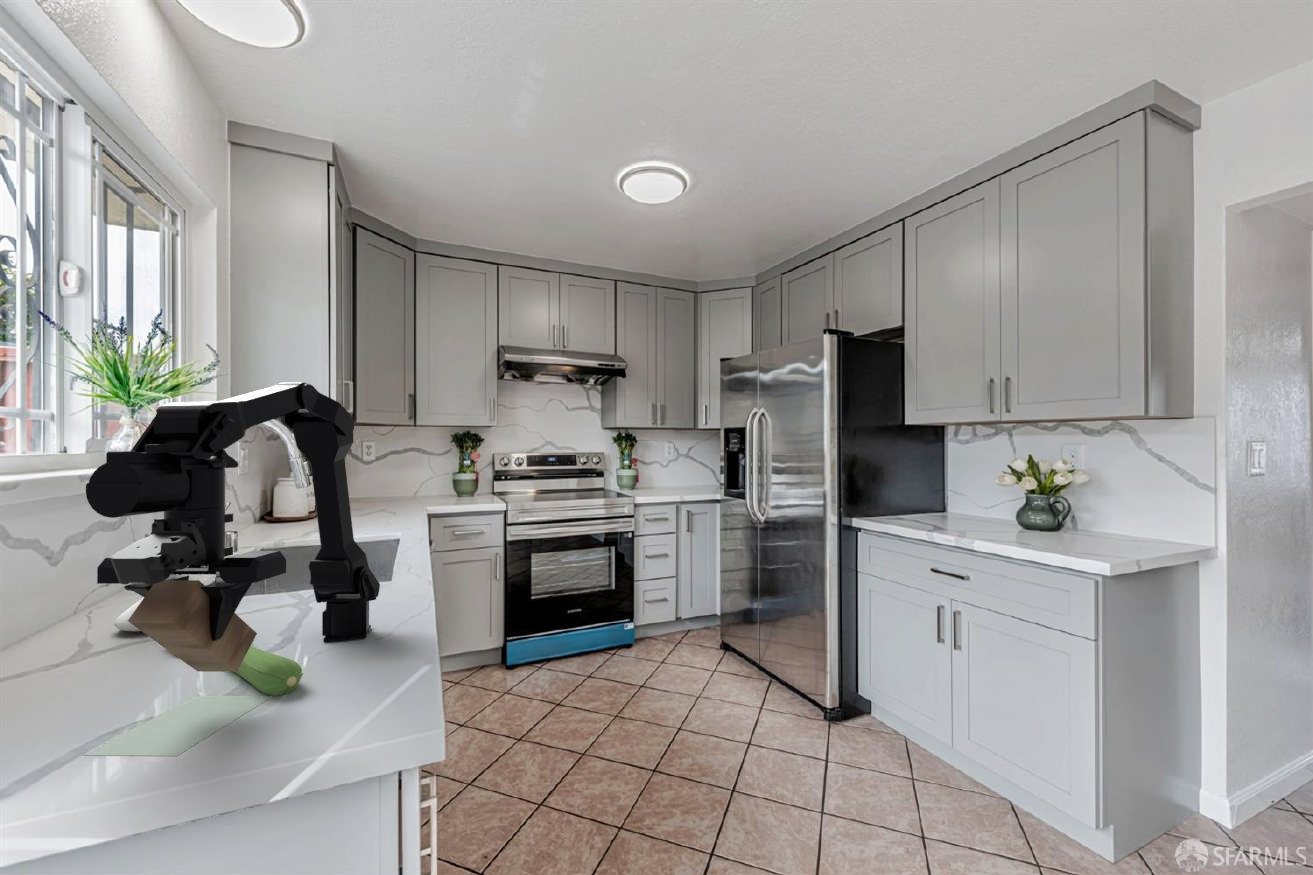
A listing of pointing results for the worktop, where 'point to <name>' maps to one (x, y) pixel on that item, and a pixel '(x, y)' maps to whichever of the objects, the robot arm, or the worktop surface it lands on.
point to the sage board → (180, 727)
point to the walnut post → (191, 627)
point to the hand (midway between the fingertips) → (194, 639)
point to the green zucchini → (270, 672)
